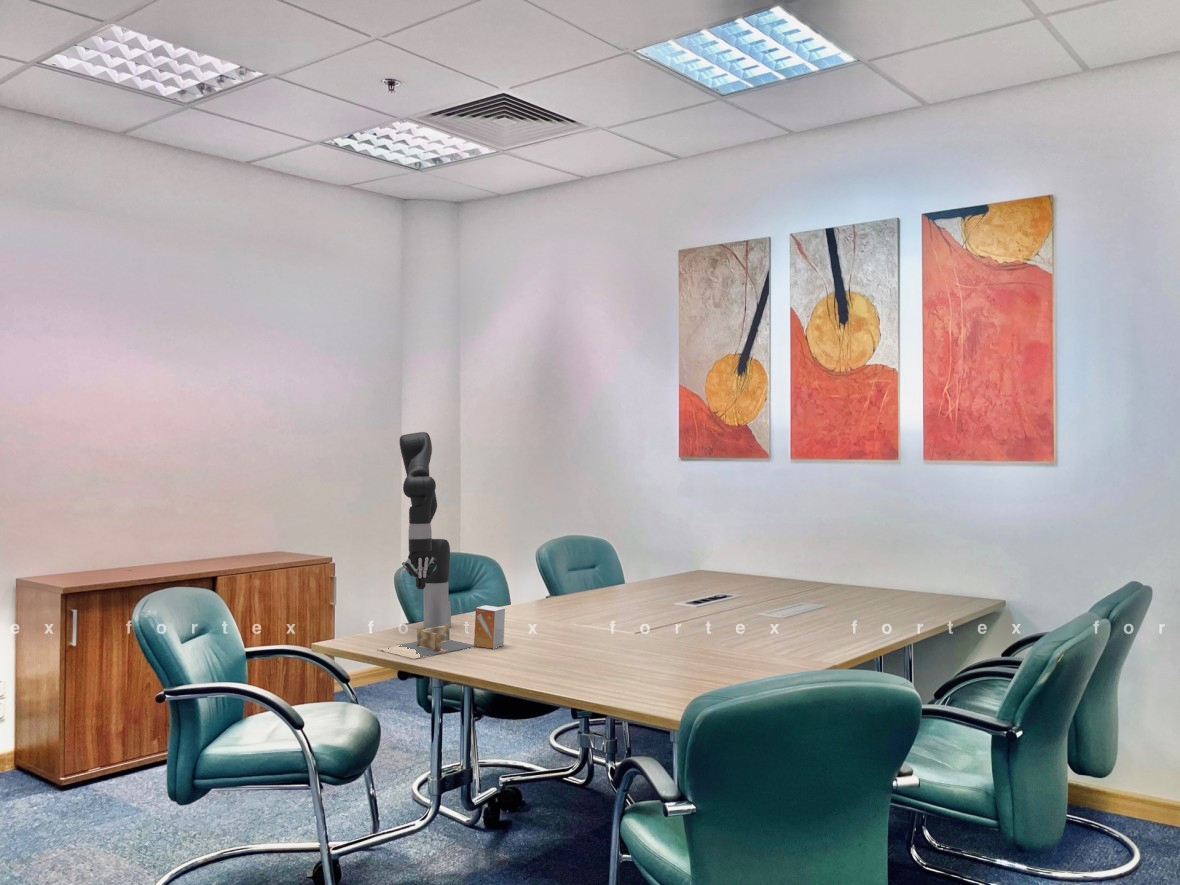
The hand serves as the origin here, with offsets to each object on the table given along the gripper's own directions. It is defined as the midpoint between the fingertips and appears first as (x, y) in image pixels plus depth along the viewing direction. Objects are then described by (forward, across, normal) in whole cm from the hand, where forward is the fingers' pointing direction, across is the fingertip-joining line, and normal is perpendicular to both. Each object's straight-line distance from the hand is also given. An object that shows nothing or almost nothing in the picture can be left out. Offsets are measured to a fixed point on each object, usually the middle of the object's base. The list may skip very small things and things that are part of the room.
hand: (420, 589), depth 322 cm
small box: (+21, -21, +8) cm, 31 cm away
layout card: (+21, -4, -3) cm, 21 cm away
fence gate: (+20, -4, 0) cm, 20 cm away
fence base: (+21, -9, -7) cm, 24 cm away
